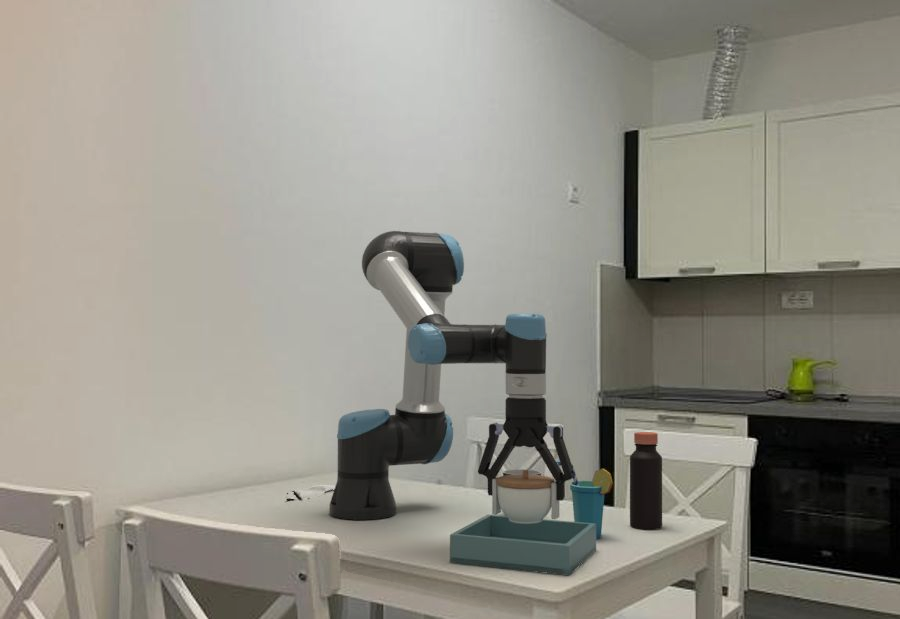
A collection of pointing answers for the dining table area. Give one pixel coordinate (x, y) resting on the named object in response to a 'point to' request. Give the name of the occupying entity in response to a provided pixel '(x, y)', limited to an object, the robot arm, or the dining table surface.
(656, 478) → the bottle
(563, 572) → the tote
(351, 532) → the dining table surface
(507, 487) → the lidded jar
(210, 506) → the dining table surface
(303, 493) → the cloth
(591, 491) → the cup
